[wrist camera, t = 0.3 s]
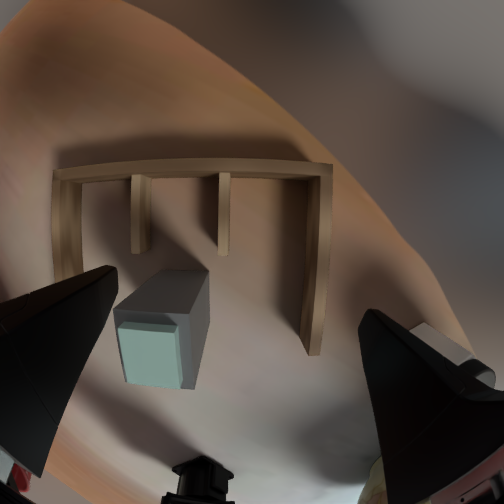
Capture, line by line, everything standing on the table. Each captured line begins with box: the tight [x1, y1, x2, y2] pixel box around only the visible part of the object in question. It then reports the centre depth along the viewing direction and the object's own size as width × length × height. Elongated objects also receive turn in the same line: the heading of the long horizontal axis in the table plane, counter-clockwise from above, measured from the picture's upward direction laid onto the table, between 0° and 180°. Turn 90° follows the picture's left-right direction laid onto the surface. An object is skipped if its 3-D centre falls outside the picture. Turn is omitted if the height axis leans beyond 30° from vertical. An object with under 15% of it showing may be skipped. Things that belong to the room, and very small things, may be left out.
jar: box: [409, 322, 496, 389], centre depth 22 cm, size 9×8×12 cm
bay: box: [51, 158, 333, 356], centre depth 23 cm, size 16×24×4 cm, turn 88°
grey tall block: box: [113, 270, 210, 390], centre depth 19 cm, size 5×4×12 cm
